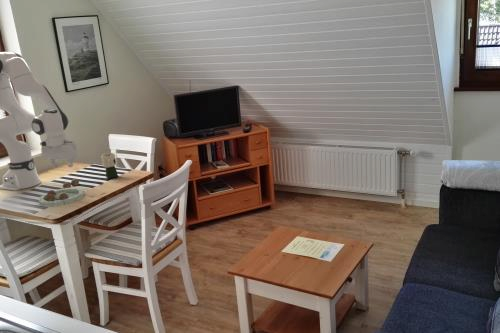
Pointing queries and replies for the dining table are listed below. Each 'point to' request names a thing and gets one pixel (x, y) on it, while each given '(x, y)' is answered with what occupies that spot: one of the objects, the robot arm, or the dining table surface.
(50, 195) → the seated bead
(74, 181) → the bead
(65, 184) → the bead
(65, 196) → the seated bead
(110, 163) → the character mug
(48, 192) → the seated bead
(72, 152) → the robot arm
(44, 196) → the groove tray
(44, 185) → the dining table surface
